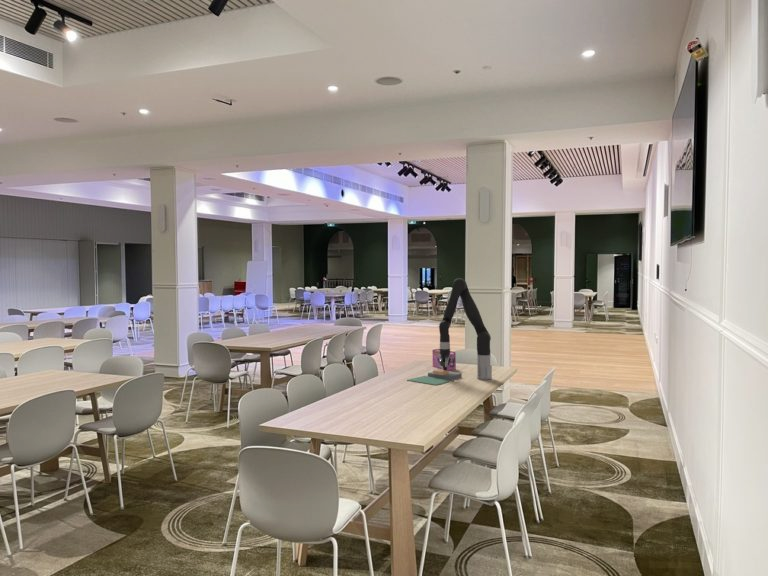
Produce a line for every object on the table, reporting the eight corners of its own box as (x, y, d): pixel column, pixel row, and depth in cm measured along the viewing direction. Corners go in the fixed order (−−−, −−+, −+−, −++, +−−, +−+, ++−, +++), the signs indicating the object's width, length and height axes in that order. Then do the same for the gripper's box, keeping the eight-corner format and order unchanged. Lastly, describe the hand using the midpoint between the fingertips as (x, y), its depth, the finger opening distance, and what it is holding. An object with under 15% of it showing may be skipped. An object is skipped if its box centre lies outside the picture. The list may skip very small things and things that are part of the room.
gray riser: (461, 377, 411) (461, 373, 411) (450, 380, 401) (450, 376, 401) (439, 374, 425) (439, 370, 425) (427, 376, 414) (427, 372, 414)
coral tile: (448, 374, 409) (448, 370, 409) (443, 375, 404) (443, 371, 404) (438, 372, 415) (438, 369, 415) (433, 373, 410) (432, 370, 410)
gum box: (457, 369, 443) (457, 352, 442) (448, 370, 439) (448, 353, 439) (440, 365, 464) (440, 348, 464) (432, 366, 460) (432, 349, 460)
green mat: (453, 380, 398) (453, 380, 398) (436, 385, 384) (436, 384, 384) (424, 376, 416) (424, 375, 416) (406, 380, 401) (406, 379, 401)
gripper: (443, 349, 405) (443, 373, 406) (454, 347, 415) (454, 371, 416) (435, 348, 410) (435, 372, 411) (446, 346, 420) (446, 369, 421)
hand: (445, 371), depth 413 cm, fingers closed
